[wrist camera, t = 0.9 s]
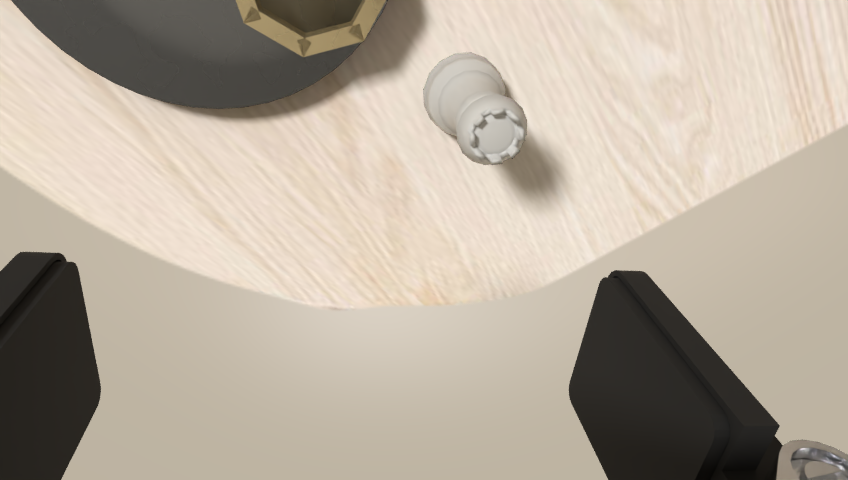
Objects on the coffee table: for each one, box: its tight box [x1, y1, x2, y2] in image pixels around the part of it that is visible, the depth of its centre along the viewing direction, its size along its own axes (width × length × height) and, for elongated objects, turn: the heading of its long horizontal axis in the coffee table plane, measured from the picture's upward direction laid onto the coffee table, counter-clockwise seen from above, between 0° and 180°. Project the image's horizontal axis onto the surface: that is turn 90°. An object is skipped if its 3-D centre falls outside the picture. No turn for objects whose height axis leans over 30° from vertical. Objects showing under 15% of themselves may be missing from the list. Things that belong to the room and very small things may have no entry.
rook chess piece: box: [423, 53, 527, 165], centre depth 29 cm, size 4×4×8 cm
